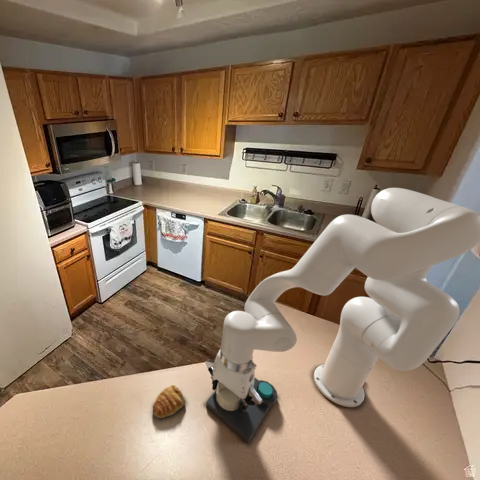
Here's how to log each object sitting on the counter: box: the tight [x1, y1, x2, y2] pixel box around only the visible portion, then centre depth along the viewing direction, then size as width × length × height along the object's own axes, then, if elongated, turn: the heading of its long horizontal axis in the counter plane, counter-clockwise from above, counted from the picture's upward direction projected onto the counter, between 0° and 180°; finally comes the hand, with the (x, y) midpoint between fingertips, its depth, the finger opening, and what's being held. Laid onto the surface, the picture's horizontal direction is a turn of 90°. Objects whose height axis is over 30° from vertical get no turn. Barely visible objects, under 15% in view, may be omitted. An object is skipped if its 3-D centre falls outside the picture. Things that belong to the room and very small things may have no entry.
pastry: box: [152, 384, 187, 419], centre depth 73 cm, size 9×7×4 cm
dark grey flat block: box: [205, 377, 278, 444], centre depth 73 cm, size 16×14×4 cm
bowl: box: [215, 382, 241, 411], centre depth 72 cm, size 7×7×4 cm
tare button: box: [258, 382, 272, 398], centre depth 72 cm, size 4×4×2 cm
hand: (228, 396), depth 72 cm, fingers open, 7 cm apart
